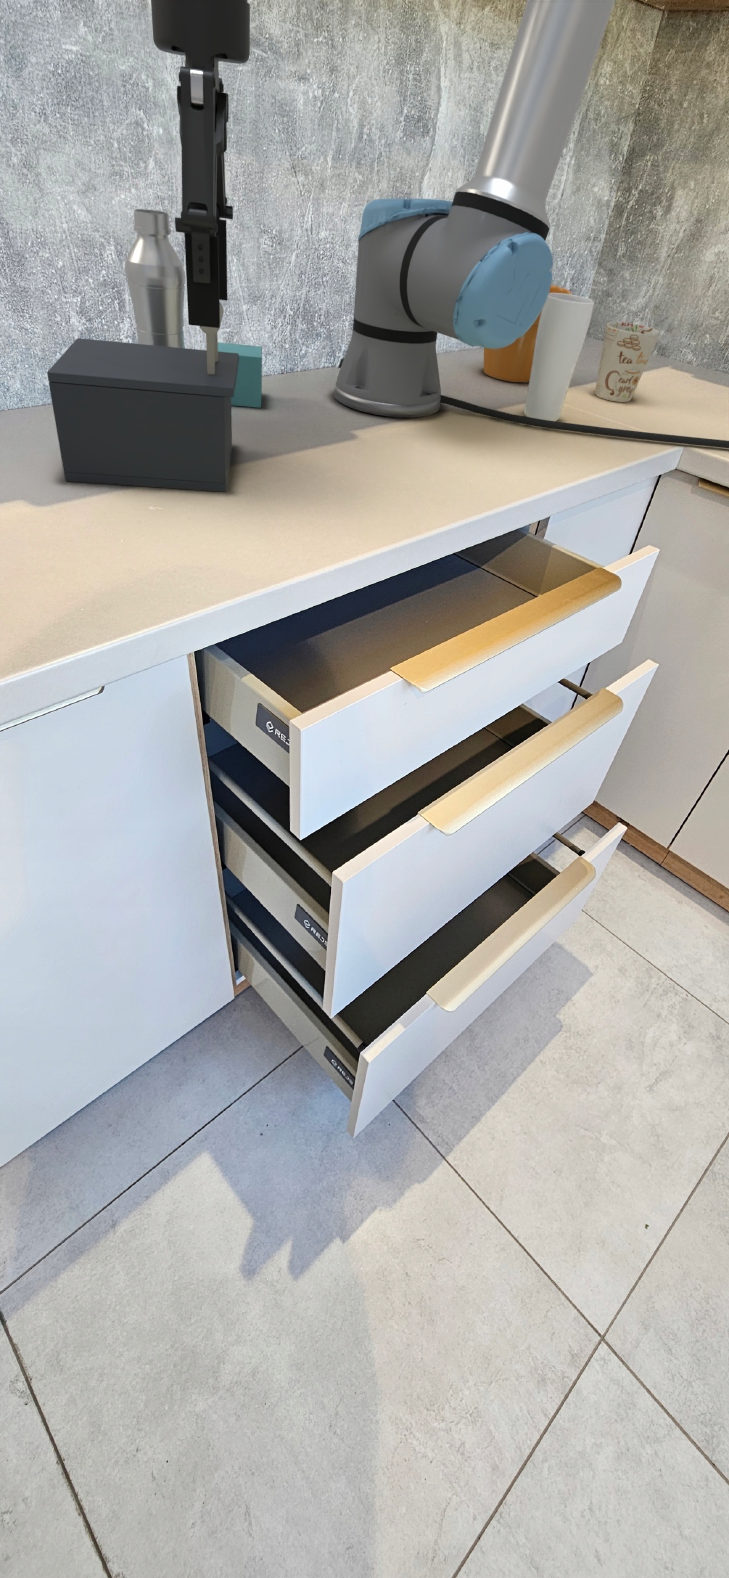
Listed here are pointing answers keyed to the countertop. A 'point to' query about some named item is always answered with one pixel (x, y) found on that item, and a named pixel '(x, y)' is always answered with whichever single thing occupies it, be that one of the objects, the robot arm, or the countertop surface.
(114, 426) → the compartment
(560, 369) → the drinking glass
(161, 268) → the silver metal bottle
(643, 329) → the mug
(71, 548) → the countertop surface
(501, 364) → the flower pot
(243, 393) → the detergent carton
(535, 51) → the robot arm
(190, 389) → the lid
